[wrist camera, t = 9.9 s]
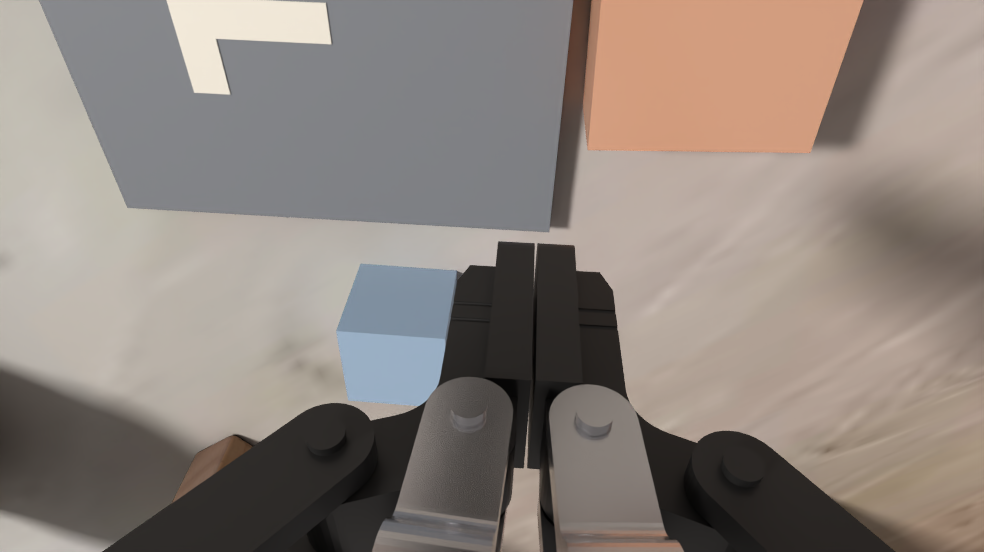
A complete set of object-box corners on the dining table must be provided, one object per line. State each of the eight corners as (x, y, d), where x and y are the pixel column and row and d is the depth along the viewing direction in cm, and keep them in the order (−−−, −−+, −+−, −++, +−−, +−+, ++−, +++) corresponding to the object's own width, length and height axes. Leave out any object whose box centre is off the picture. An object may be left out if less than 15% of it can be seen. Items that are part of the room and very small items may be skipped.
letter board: (601, -295, 18) (604, -297, 17) (548, 219, 29) (549, 232, 29) (-71, -314, 18) (-99, -318, 18) (138, 196, 30) (126, 208, 29)
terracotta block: (846, -126, 20) (900, -104, 17) (777, 105, 25) (810, 152, 22) (600, -122, 21) (610, -101, 18) (582, 103, 26) (587, 149, 23)
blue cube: (456, 269, 32) (445, 339, 28) (456, 337, 35) (446, 408, 31) (361, 262, 32) (336, 330, 28) (369, 330, 35) (348, 400, 31)
